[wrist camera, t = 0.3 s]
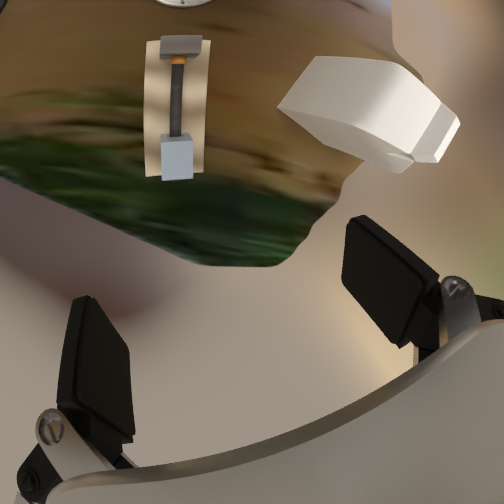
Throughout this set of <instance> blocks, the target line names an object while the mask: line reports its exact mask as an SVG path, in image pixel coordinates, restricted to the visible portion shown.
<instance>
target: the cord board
mask: <svg viewBox="0 0 504 504" xmlns="http://www.w3.org/2000/svg"><path fill="white" fill-rule="evenodd" d="M202 36H203V35H166V36H161V40H159V41H147V48H146V61H145V80H144V151H145V171H146V177H147V176H158V175H162V169H161V134H169V133H170V137H181V133H187V132H188V133H189V134H190V136H191V137H192V139H193V173H197V172H203V166H204V133H205V111H206V94H207V79H208V65H209V53H210V42H211V40H202ZM180 180H181V179H177V180H170V181H172V182H177V181H180Z"/></svg>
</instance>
